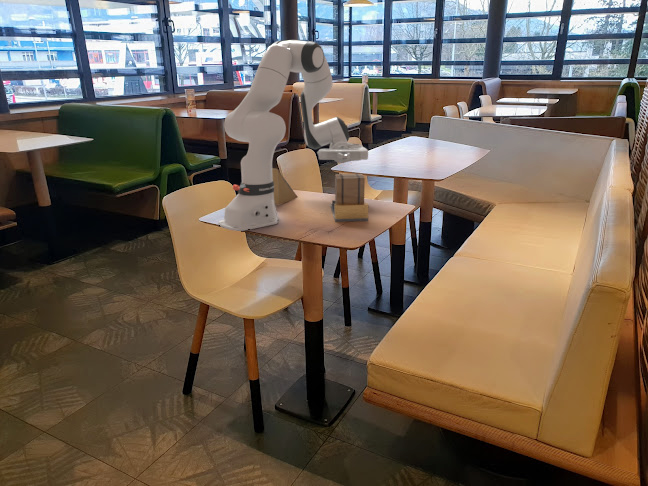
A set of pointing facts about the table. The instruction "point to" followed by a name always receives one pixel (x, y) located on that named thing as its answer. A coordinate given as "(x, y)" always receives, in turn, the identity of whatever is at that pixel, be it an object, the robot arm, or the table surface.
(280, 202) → the sandwich container
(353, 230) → the table surface
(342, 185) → the crate
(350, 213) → the roller track
